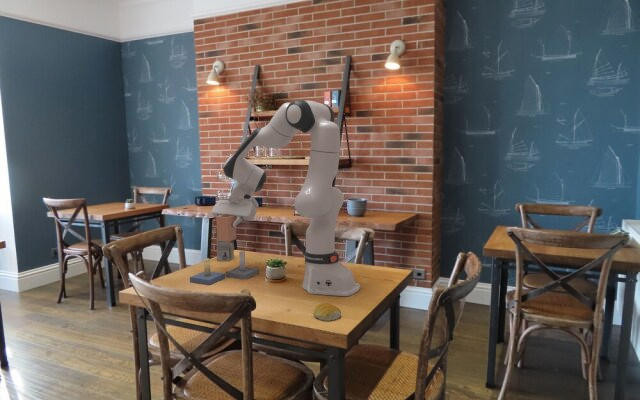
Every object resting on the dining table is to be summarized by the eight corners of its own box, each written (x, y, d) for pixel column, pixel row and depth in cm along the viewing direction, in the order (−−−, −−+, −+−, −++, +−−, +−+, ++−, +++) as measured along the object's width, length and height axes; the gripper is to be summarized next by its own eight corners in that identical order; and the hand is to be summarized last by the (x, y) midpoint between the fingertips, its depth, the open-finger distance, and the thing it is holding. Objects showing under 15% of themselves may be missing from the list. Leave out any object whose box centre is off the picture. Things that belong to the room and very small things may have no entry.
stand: (259, 273, 193) (258, 250, 192) (246, 279, 184) (245, 255, 183) (239, 270, 197) (239, 248, 196) (226, 276, 188) (225, 253, 187)
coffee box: (221, 256, 222) (220, 224, 220) (234, 256, 222) (233, 224, 220) (216, 261, 213) (215, 228, 211) (230, 261, 212) (229, 228, 210)
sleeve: (236, 239, 187) (235, 215, 186) (228, 241, 182) (227, 217, 181) (225, 237, 190) (224, 214, 188) (217, 240, 185) (216, 216, 183)
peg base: (225, 278, 186) (224, 256, 185) (209, 285, 177) (208, 262, 176) (205, 275, 190) (205, 254, 189) (189, 282, 181) (189, 259, 180)
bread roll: (328, 309, 151) (328, 298, 150) (344, 317, 144) (344, 305, 143) (307, 315, 146) (307, 303, 145) (324, 324, 139) (324, 311, 138)
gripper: (216, 194, 195) (202, 219, 187) (256, 196, 186) (242, 223, 178) (223, 202, 199) (209, 228, 192) (262, 205, 190) (249, 232, 183)
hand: (226, 225), depth 185 cm, fingers closed on sleeve, 6 cm apart
